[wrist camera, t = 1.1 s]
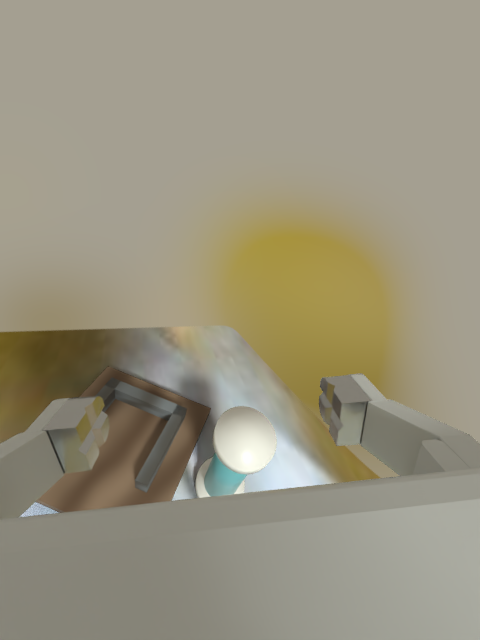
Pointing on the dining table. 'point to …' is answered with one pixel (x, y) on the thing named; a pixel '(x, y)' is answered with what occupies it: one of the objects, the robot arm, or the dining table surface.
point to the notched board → (133, 447)
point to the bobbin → (236, 452)
